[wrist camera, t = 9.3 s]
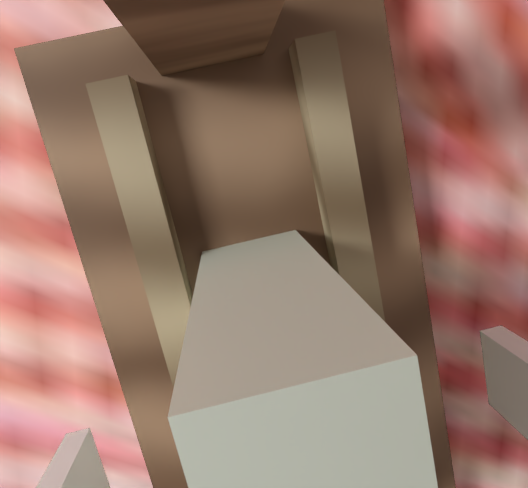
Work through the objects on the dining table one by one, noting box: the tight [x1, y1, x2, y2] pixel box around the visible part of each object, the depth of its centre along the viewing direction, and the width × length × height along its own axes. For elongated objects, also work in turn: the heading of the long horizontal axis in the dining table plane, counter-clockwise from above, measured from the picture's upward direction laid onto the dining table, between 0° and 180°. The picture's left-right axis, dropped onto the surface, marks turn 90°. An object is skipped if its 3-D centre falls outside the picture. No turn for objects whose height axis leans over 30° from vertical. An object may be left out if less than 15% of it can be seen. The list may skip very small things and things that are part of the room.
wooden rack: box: [14, 0, 455, 488], centre depth 14 cm, size 28×14×16 cm, turn 12°
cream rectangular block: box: [168, 230, 438, 488], centre depth 14 cm, size 10×4×12 cm, turn 12°
